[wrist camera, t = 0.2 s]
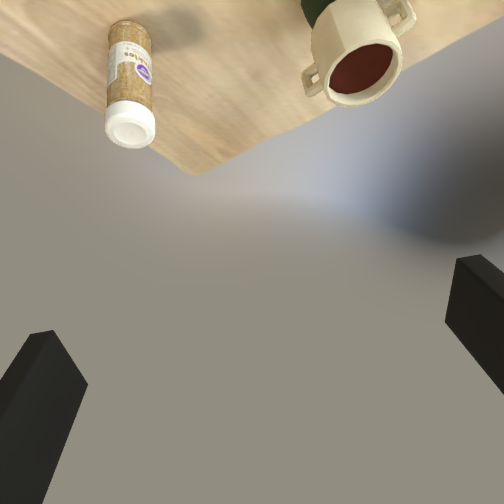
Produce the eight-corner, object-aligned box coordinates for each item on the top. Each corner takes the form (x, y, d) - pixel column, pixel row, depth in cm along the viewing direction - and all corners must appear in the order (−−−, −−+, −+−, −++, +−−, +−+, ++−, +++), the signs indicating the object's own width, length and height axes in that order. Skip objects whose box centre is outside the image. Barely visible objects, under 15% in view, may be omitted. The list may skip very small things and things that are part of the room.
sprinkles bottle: (159, 35, 38) (164, 129, 32) (140, 65, 41) (141, 156, 35) (117, 8, 35) (116, 107, 29) (100, 43, 38) (96, 139, 32)
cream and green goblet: (302, 46, 41) (327, 129, 36) (267, 2, 36) (290, 91, 31) (391, -25, 36) (436, 62, 30) (364, -91, 30) (413, 0, 25)
